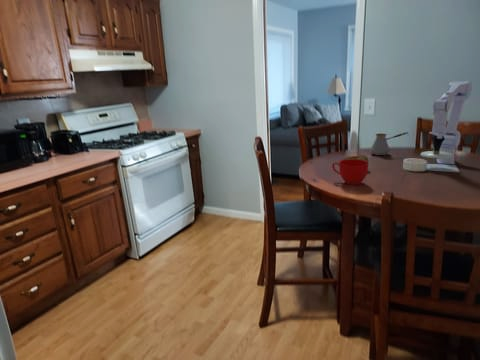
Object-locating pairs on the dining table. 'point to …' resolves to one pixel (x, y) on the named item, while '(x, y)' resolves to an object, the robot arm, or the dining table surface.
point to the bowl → (414, 164)
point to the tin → (357, 157)
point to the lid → (436, 154)
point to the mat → (442, 167)
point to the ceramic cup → (352, 170)
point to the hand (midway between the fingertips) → (436, 150)
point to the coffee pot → (382, 144)
